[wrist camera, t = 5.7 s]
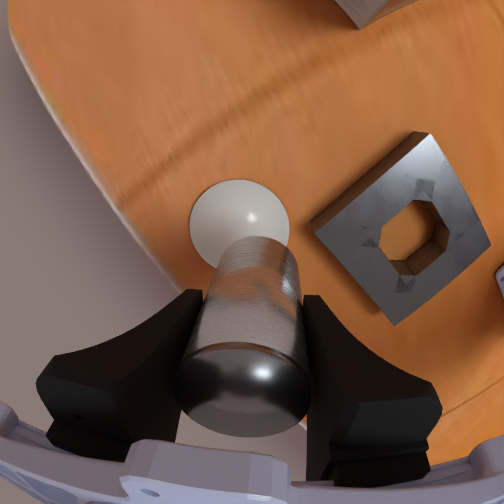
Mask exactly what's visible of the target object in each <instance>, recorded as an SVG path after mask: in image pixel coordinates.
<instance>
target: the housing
mask: <svg viewBox="0 0 504 504" xmlns="http://www.w3.org/2000/svg"><path fill="white" fill-rule="evenodd" d="M414 199H415V200H422V201H423V202H424V204H425V205H426V207H427V208H428V210H429V211H430V213H431V215H432V216H433V218H434V220H435V224H434V230H433V235H432V238H431V239H430V240H429V241H428V242H427V243H425V244H424V245H423V246H422V247H421V248H420V249H418V250H417V251H416V252H415V253H414V254H412V255H411V256H410V257H409V258H408V259H406V260H405V261H403V260H389V259H388V258H387V257H386V255H385V254H384V253H383V251H382V250H381V249H380V247H379V241H380V235H381V228H382V226H383V225H385V224H386V223H387V222H388V221H389V220H390V219H392V218H393V217H394V216H395V215H396V214H397V213H399V212H400V211H401V210H402V209H403V208H404V207H406V206H407V205H408V204H409V203H410V202H411V201H412V200H414ZM311 225H312V228H313V231H314V234H315V235H316V236H317V237H318V238H319V239H320V241H321V242H322V243H323V244H324V245H325V246H326V247H327V248H328V249H329V251H330V252H331V253H332V254H333V255H334V256H335V257H336V258H337V259H338V261H339V262H340V263H341V264H342V265H343V266H344V267H345V269H346V270H347V271H348V272H349V273H350V274H351V275H352V277H353V278H354V279H355V280H356V281H357V282H358V284H359V285H360V286H361V287H362V288H363V289H364V291H365V292H366V293H367V294H368V295H369V296H370V298H371V299H372V300H373V301H374V302H375V303H376V305H377V306H378V307H379V308H380V309H381V311H382V312H383V313H384V314H385V315H386V317H387V318H388V319H389V320H390V322H391V323H392V324H393V325H394V326H395V325H397V324H398V323H399V322H401V321H402V320H403V319H405V318H406V317H407V316H409V315H410V314H411V313H413V312H414V311H415V310H417V309H418V308H419V307H420V306H422V305H423V304H424V303H426V302H427V301H428V300H429V299H431V298H432V297H433V296H434V295H435V294H437V293H438V292H439V291H440V290H442V289H443V288H444V287H445V286H446V285H448V284H449V283H450V282H451V281H452V280H453V279H455V278H456V277H457V276H458V275H459V274H460V273H461V272H463V271H464V270H465V269H466V268H467V267H468V266H469V265H470V264H472V263H473V262H474V261H475V260H476V259H477V258H478V257H479V256H480V255H481V254H482V253H483V252H484V251H485V250H487V249H488V248H489V247H490V246H491V243H490V241H489V239H488V237H487V234H486V232H485V230H484V228H483V226H482V223H481V221H480V219H479V217H478V215H477V213H476V211H475V209H474V207H473V205H472V203H471V201H470V199H469V197H468V195H467V193H466V192H465V190H464V188H463V186H462V184H461V182H460V181H459V179H458V177H457V175H456V174H455V172H454V170H453V169H452V167H451V165H450V163H449V162H448V160H447V159H446V157H445V155H444V154H443V152H442V151H441V149H440V147H439V146H438V144H437V143H436V141H435V140H434V138H433V137H432V135H431V134H430V133H424V132H417V131H414V132H413V133H412V134H411V135H410V136H409V137H408V138H406V139H405V140H404V141H403V142H402V143H401V144H400V145H398V146H397V147H396V148H395V149H394V150H393V151H392V152H390V153H389V154H388V155H387V156H386V157H385V158H383V159H382V160H381V161H380V162H379V163H378V164H377V165H375V166H374V167H373V168H372V169H371V170H370V171H368V172H367V173H366V174H365V175H364V176H363V177H361V178H360V179H359V180H358V181H357V182H356V183H354V184H353V185H352V186H351V187H350V188H349V189H348V190H346V191H345V192H344V193H343V194H342V195H340V196H339V197H338V198H337V199H336V200H335V201H333V202H332V203H331V204H330V205H329V206H328V207H326V208H325V209H324V210H323V211H322V212H321V213H319V214H318V215H317V216H316V217H315V218H314V219H312V220H311Z"/></svg>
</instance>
